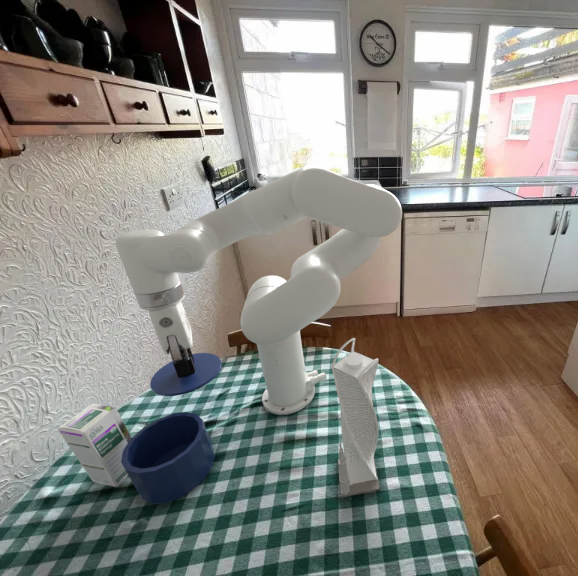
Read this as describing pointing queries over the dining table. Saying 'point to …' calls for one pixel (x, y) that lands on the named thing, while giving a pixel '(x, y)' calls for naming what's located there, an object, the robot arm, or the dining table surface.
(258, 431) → the dining table surface
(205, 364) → the lid
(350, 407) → the skyscraper
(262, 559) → the dining table surface
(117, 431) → the syrup box
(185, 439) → the pot
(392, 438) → the dining table surface
